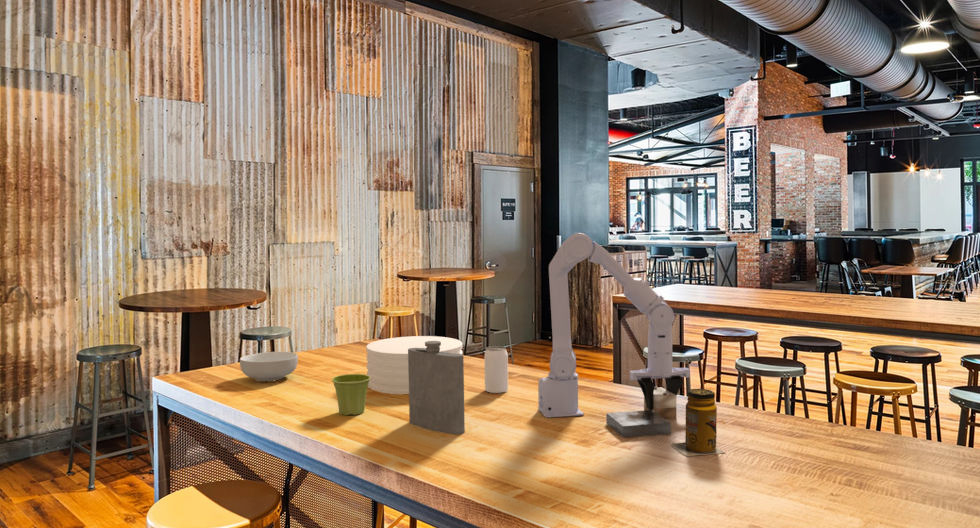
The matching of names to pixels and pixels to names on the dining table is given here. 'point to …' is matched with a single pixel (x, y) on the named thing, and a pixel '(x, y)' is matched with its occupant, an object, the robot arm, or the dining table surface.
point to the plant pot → (351, 392)
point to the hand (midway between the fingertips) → (659, 407)
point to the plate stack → (399, 360)
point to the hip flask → (436, 389)
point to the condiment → (700, 424)
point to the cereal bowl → (269, 365)
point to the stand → (638, 423)
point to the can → (496, 369)
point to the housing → (663, 403)
